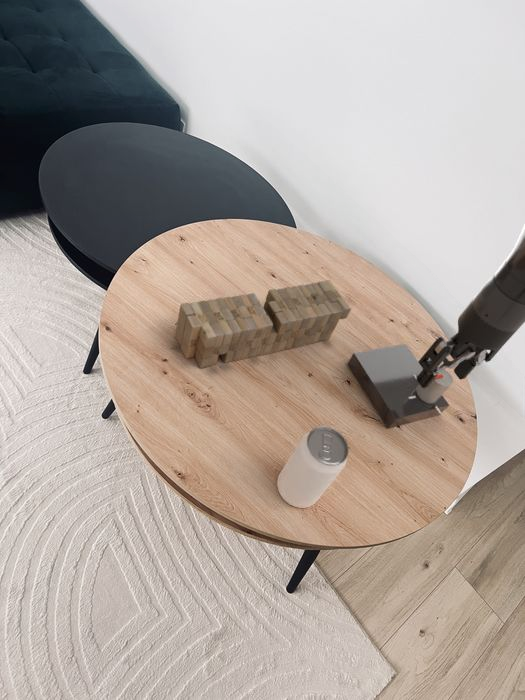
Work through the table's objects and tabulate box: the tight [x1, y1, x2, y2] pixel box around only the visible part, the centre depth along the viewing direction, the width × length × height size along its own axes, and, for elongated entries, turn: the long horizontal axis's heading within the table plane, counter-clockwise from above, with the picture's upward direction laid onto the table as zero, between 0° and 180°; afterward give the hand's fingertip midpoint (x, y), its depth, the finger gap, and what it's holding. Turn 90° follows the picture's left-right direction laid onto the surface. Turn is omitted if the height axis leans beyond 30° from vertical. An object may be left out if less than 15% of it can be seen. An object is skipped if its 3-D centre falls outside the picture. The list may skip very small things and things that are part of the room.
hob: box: [347, 343, 450, 430], centre depth 93 cm, size 15×13×3 cm
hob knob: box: [416, 369, 454, 404], centre depth 89 cm, size 4×4×5 cm
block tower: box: [174, 279, 352, 369], centre depth 91 cm, size 8×8×29 cm
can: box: [276, 425, 350, 509], centre depth 72 cm, size 6×6×12 cm
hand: (440, 379), depth 88 cm, fingers open, 8 cm apart
